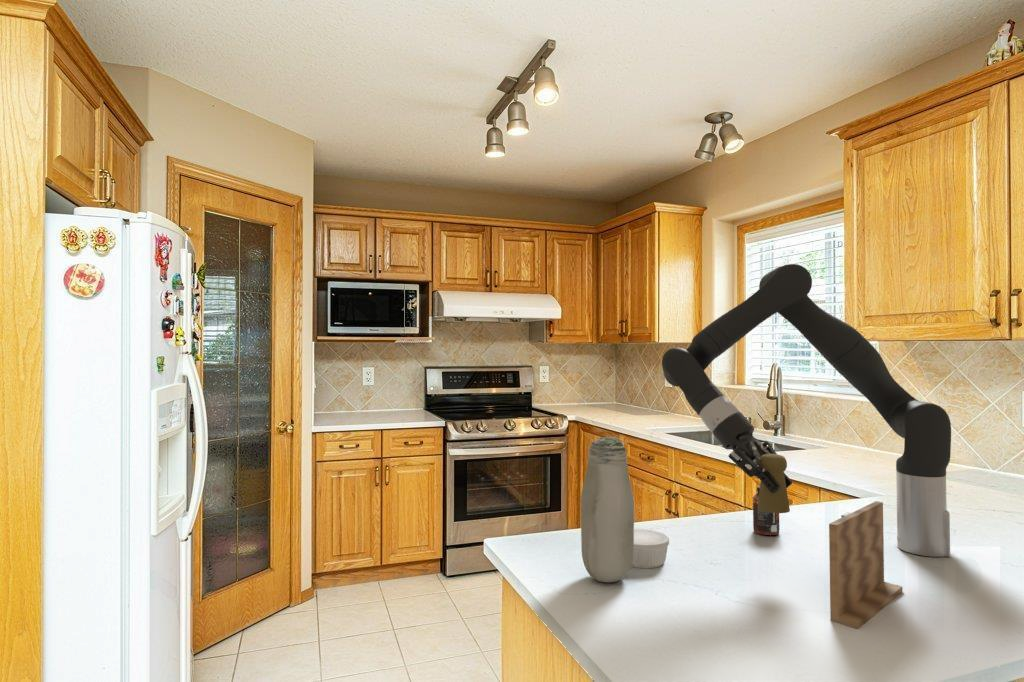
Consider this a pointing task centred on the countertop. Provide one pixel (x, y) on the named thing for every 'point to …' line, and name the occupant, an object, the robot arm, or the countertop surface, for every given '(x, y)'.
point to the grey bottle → (607, 512)
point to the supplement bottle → (764, 519)
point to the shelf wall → (858, 567)
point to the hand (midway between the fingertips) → (782, 487)
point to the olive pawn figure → (776, 468)
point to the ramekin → (649, 548)
